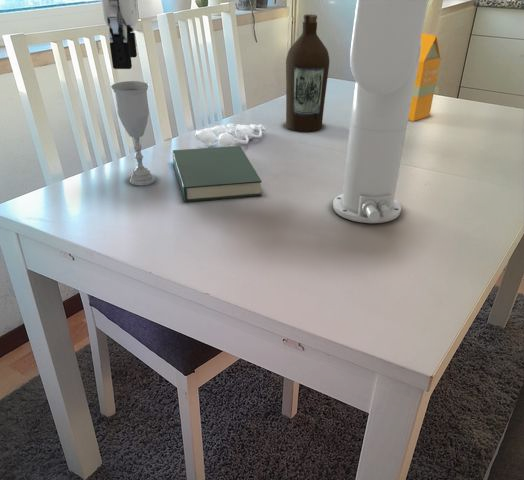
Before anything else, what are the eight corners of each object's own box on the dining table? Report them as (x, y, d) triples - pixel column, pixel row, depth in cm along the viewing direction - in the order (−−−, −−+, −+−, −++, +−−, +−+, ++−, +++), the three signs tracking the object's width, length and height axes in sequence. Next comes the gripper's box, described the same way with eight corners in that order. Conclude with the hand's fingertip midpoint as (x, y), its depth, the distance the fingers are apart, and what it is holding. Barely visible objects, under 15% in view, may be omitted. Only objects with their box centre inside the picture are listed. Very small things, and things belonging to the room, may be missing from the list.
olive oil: (282, 120, 146) (286, 11, 130) (321, 120, 146) (329, 12, 130) (285, 132, 137) (289, 18, 122) (326, 132, 138) (336, 18, 122)
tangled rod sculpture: (235, 129, 143) (234, 112, 140) (280, 135, 135) (279, 118, 133) (184, 146, 130) (182, 128, 128) (231, 153, 123) (229, 134, 120)
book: (261, 195, 106) (261, 181, 104) (184, 202, 103) (183, 187, 101) (240, 159, 122) (240, 145, 120) (173, 163, 119) (172, 150, 117)
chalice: (155, 187, 109) (144, 91, 97) (121, 187, 109) (106, 90, 97) (161, 174, 114) (151, 81, 103) (129, 173, 114) (116, 80, 103)
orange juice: (403, 109, 156) (416, 29, 143) (429, 116, 151) (445, 34, 138) (387, 114, 152) (399, 32, 139) (413, 121, 147) (428, 37, 134)
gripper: (129, -53, 81) (142, 73, 91) (139, -58, 94) (149, 53, 105) (77, -54, 80) (97, 73, 91) (95, -59, 93) (110, 53, 104)
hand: (125, 62), depth 98 cm, fingers open, 9 cm apart
